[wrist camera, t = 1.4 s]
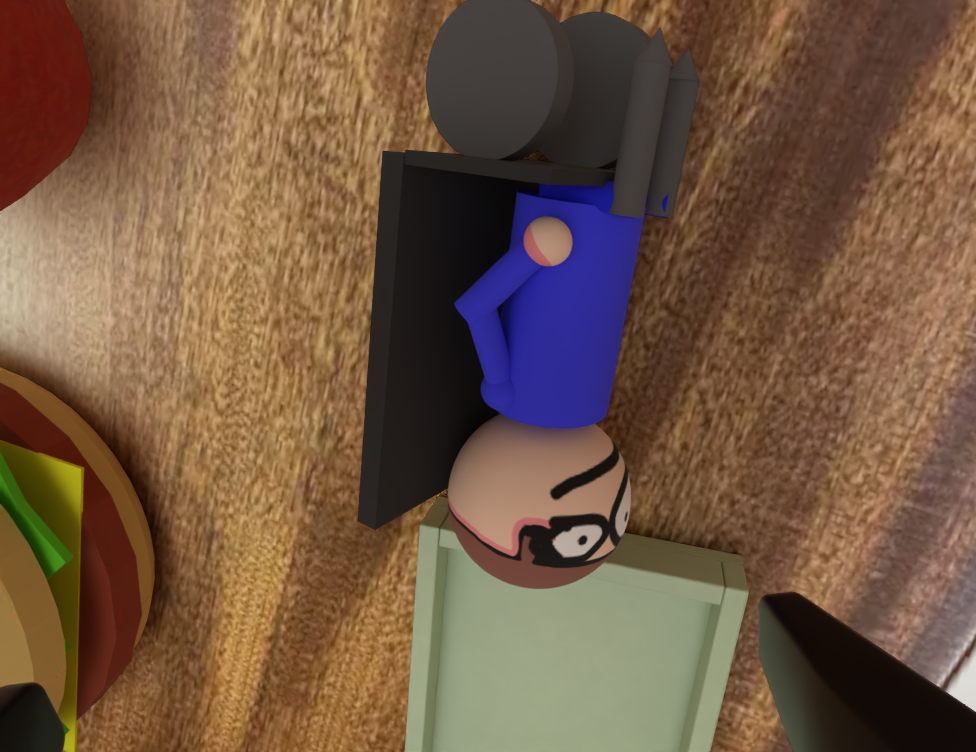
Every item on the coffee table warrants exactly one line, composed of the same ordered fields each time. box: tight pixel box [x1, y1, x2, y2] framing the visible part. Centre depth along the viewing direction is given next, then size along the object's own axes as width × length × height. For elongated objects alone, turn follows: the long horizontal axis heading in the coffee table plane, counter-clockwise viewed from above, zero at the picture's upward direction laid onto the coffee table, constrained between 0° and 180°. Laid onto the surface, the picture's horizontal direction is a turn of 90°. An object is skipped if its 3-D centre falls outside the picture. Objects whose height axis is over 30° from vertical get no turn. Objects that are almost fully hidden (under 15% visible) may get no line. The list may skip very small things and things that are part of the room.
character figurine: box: [358, 0, 700, 589], centre depth 18 cm, size 8×7×15 cm
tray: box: [405, 496, 749, 752], centre depth 26 cm, size 10×17×2 cm, turn 175°
